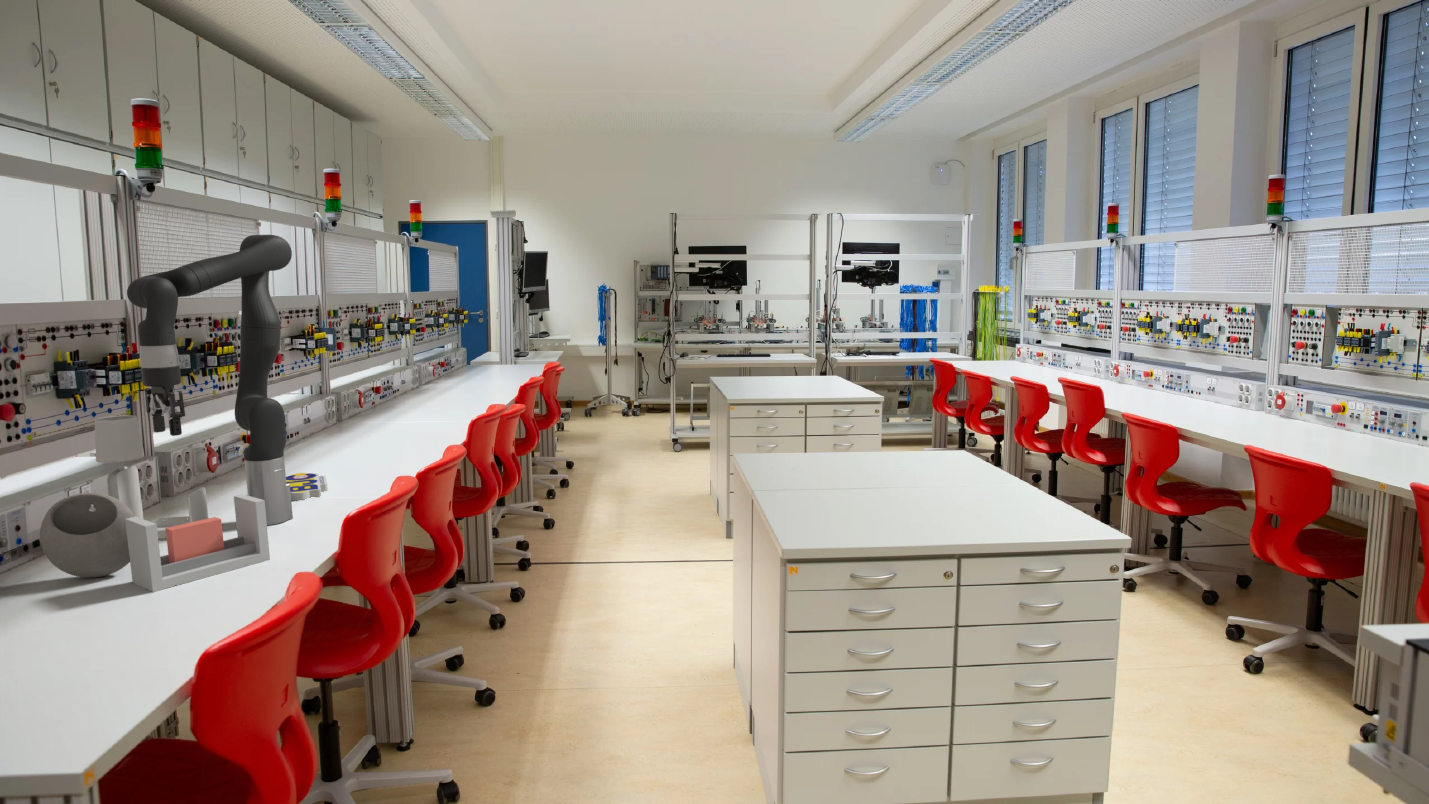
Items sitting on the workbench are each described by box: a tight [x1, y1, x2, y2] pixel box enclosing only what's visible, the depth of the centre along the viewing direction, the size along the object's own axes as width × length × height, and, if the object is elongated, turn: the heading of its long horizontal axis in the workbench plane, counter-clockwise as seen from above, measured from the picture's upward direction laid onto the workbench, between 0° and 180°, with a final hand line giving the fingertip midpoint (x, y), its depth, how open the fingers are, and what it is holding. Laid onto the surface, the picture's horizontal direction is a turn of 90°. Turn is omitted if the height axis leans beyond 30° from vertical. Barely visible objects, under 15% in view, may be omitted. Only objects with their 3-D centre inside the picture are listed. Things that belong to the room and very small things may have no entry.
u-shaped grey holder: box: [125, 493, 271, 593], centre depth 184 cm, size 24×10×14 cm, turn 145°
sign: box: [286, 472, 329, 501], centre depth 254 cm, size 28×3×20 cm
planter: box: [39, 492, 136, 579], centre depth 180 cm, size 18×7×19 cm, turn 105°
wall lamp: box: [94, 414, 209, 540], centre depth 210 cm, size 10×21×30 cm, turn 101°
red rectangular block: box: [165, 516, 224, 564], centre depth 183 cm, size 10×3×9 cm, turn 145°
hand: (167, 433), depth 196 cm, fingers open, 8 cm apart
